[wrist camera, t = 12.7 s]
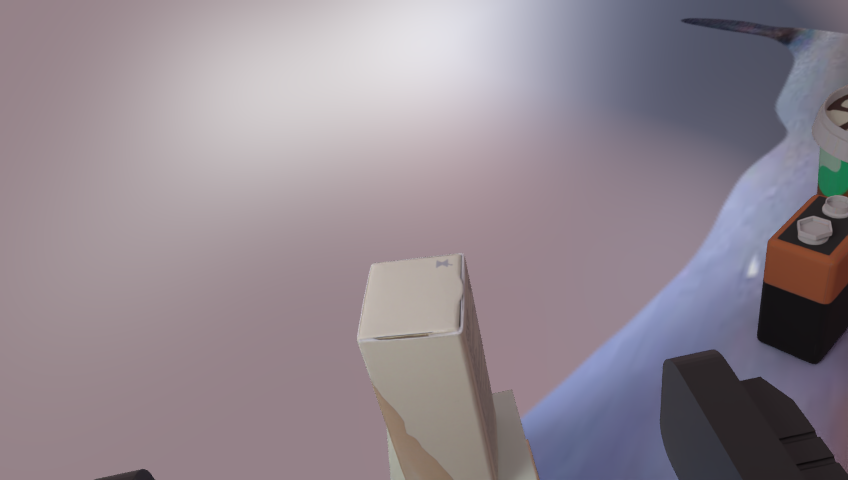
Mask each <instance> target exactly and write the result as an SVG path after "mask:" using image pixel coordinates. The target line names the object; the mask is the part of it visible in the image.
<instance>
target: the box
mask: <svg viewBox="0 0 848 480" xmlns="http://www.w3.org/2000/svg"><path fill="white" fill-rule="evenodd" d="M357 342H358V345H359V347H360V350H361V353H362V356H363V359H364V362H365V364H366V368H367V371H368V374H369V377H370V379H371V382H372V385H373V388H374V391H375V394H376V397H377V400H378V403H379V406H380V409H381V411H382V414H383V417H384V420H385V423H386V426H387V429H388V432H389V435H390V438H391V441H392V444H393V447H394V450H395V453H396V456H397V458H398V461H399V464H400V467H401V470H402V473H403V475H404V478H405V480H498V443H497V423H496V412H495V407H494V403H493V398H492V392H491V387H490V382H489V377H488V371H487V367H486V361H485V355H484V350H483V345H482V340H481V334H480V330H479V325H478V320H477V315H476V310H475V304H474V299H473V294H472V289H471V284H470V279H469V275H468V270H467V265H466V260H465V256H464V254H463V253H457V254H449V255H441V256H431V257H423V258H413V259H407V260H406V259H405V260H397V261H390V262H381V263H374V264H372V266H371V269H370V272H369V277H368V281H367V286H366V291H365V296H364V301H363V306H362V312H361V317H360V323H359V330H358V336H357Z"/></svg>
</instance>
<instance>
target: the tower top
mask: <svg viewBox="0 0 848 480" xmlns="http://www.w3.org/2000/svg"><path fill="white" fill-rule="evenodd" d="M492 398H493V403H494V407H495V412H496V423H497V443H498V480H537V479H536V475H535V471H534V468H533V464H532V460H531V457H530V453H529V450H528V446H527V442H526V439H525V435H524V431H523V428H522V424H521V421H520V417H519V413H518V410H517V406H516V402H515V399H514V395H513V392H512V390H508V391H503V392H498V393H494V394H492ZM387 438H388V452H389V465H390V479H391V480H405V478H404V475H403V473H402V470H401V467H400V464H399V461H398V458H397V456H396V453H395V450H394V447H393V444H392V441H391V438H390V435H389V432H388V429H387Z"/></svg>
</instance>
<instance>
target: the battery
mask: <svg viewBox="0 0 848 480" xmlns="http://www.w3.org/2000/svg"><path fill="white" fill-rule="evenodd" d="M847 327H848V197H845V196H840V195H834V196H830V197H826V196H822V195H814V196H813V197H811V198H810V199H809V200H808V201H807V202H806V203H805V204H804V205H803V206H802V207H801V208H800V209H799V210H798V211H797V212H796V213H795V214H794V215H793V216H792V217H791V218H790V219H789V220H788V221H787V222H786V223H785V224H784V225H783V226H782V227H781V228H780V229H779V230H778V231H777V232H776V233H775V234H774V235H773V236H772V237H771V238H770V239H769V241H768V244H767V253H766V261H765V270H764V279H763V288H762V296H761V305H760V314H759V323H758V332H757V338H758V340H759V341H761V342H763V343H765V344H768V345H770V346H772V347H775V348H777V349H779V350H782V351H784V352H786V353H788V354H791V355H793V356H795V357H798V358H800V359H802V360H805V361H807V362H809V363H812V364H816V363H818V362H820V361H821V360H822V358H823V357H824V356H825V355H826V353H827V352H828V351H829V350H830V348H831V347H832V346H833V345H834V343H835V342H836V341H837V340H838V338H839V337H840V336H841V335H842V333H843V332H844V331H845V330H846V328H847Z"/></svg>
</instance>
